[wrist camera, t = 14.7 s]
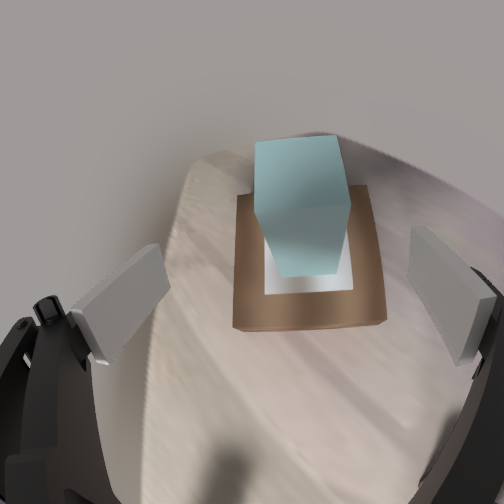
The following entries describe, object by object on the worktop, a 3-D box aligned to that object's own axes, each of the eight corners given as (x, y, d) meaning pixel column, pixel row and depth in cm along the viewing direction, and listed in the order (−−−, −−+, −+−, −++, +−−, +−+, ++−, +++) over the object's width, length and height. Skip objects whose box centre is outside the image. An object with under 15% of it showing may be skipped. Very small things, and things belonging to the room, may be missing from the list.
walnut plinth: (361, 204, 31) (366, 183, 27) (377, 324, 25) (388, 318, 22) (245, 213, 34) (236, 193, 30) (243, 331, 28) (231, 327, 24)
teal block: (331, 224, 26) (336, 135, 15) (336, 274, 24) (351, 204, 13) (280, 227, 27) (254, 142, 16) (281, 277, 25) (254, 212, 14)
